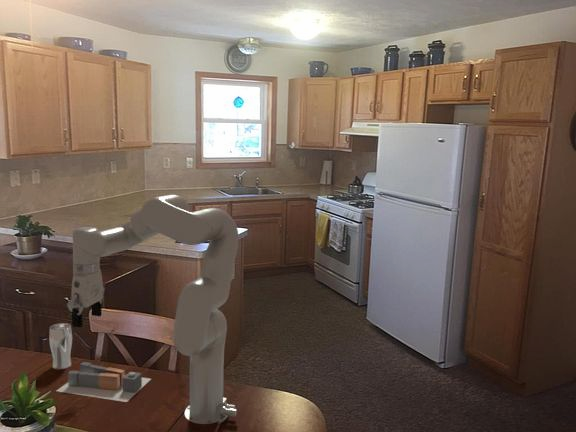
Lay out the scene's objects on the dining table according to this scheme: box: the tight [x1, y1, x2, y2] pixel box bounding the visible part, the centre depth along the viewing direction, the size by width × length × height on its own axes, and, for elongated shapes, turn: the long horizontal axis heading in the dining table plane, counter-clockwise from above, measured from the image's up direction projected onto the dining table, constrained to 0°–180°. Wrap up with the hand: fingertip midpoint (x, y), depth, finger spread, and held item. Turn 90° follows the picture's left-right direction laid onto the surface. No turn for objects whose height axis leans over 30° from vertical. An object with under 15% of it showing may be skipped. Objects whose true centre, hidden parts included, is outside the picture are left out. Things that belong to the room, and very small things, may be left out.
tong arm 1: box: [67, 370, 120, 390], centre depth 153 cm, size 16×2×4 cm, turn 83°
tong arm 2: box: [79, 361, 126, 385], centre depth 158 cm, size 16×2×4 cm, turn 71°
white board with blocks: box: [56, 371, 152, 403], centre depth 155 cm, size 24×15×6 cm, turn 77°
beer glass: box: [48, 322, 73, 370], centre depth 167 cm, size 7×7×15 cm
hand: (87, 320), depth 153 cm, fingers open, 9 cm apart
